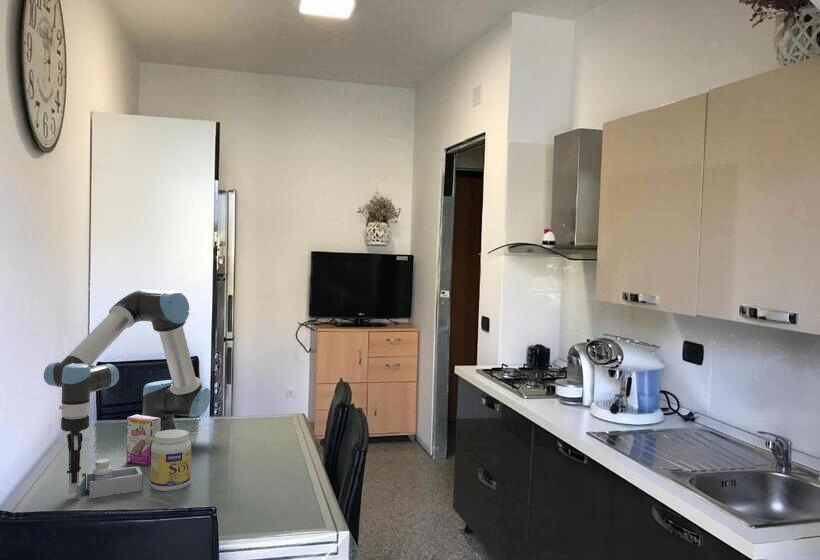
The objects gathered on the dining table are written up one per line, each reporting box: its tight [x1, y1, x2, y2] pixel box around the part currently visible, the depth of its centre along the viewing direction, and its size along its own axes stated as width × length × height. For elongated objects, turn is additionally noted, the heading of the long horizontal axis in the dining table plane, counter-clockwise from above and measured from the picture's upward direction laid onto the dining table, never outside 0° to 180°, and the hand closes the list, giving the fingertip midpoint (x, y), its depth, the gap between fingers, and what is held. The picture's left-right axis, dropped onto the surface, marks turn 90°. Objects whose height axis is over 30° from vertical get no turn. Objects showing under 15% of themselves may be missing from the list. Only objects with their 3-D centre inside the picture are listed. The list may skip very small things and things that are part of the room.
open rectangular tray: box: [86, 465, 144, 500], centre depth 197 cm, size 15×9×5 cm, turn 122°
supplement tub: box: [150, 429, 192, 492], centre depth 202 cm, size 12×12×17 cm
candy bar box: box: [126, 414, 161, 467], centre depth 222 cm, size 11×5×16 cm, turn 71°
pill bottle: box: [92, 458, 113, 481], centre depth 195 cm, size 6×5×10 cm
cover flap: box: [76, 472, 87, 501], centre depth 192 cm, size 1×10×5 cm, turn 18°
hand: (73, 492), depth 190 cm, fingers closed
